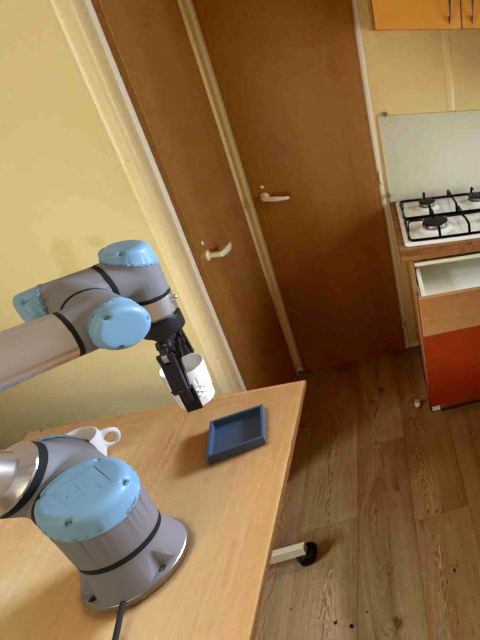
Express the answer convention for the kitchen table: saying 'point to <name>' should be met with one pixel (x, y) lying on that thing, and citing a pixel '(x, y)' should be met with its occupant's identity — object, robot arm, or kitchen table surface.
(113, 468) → the robot arm
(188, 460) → the kitchen table surface
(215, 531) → the kitchen table surface
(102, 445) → the cup
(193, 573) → the kitchen table surface
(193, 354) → the white cup
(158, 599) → the kitchen table surface
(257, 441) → the tray
